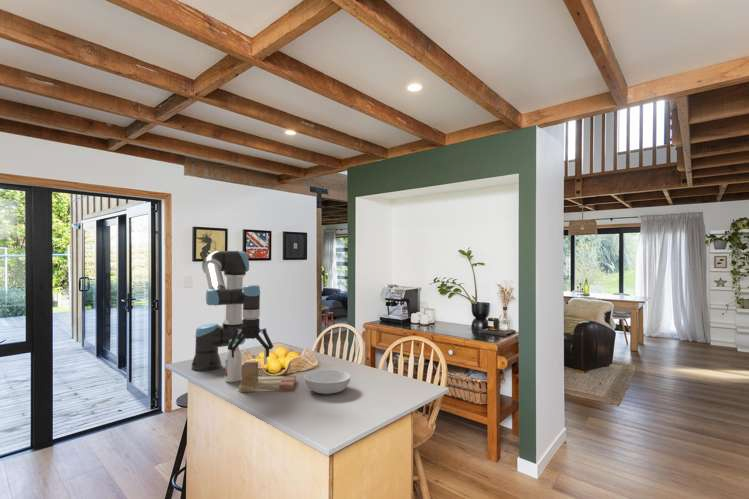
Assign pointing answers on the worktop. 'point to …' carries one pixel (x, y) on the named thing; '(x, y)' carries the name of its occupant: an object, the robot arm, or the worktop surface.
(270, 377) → the maple board
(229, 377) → the milk bottle
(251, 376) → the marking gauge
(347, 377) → the serving bowl
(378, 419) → the worktop surface
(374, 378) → the worktop surface
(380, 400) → the worktop surface
